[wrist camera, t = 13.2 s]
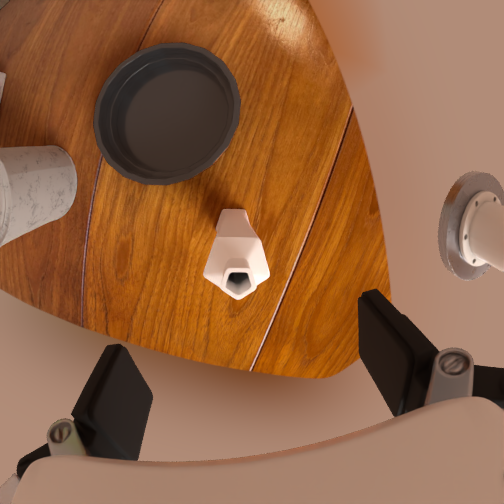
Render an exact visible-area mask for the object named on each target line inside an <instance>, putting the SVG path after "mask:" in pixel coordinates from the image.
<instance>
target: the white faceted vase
mask: <svg viewBox="0 0 504 504" xmlns="http://www.w3.org/2000/svg"><path fill="white" fill-rule="evenodd" d="M216 231H217V235H216V237H215V240H214V243H213V246H212V249H211V252H210V255H209V258H208V261H207V264H206V267H205V270H204V273H203V275H204V277H205V278H207V279H208V280H210V281H211V282H213V283H214V284H216V285H217V286H219V287H220V288H221V290H222V291H224V292H225V293H227V294H228V295H230V296H232V297H233V298H235V299H237V300H239V299H242V298H243V297H245V296H246V295H248V294H250V293H251V292H253V291H254V290H255V289H256V287H257V286H256V285H258V284H259V283H261V282H263V281H264V280H266V279H267V278H269V276H270V272H269V269H268V265H267V262H266V258H265V254H264V251H263V247H262V244H261V241H260V239H259V237H258V236H257V234H256V233H255V231H254V230H253V229H252V227H251V226H250V223H249V220H248V216H247V213H246V210H244V209H223V210H222V212H221V214H220V217H219V220H218V223H217V226H216Z"/></svg>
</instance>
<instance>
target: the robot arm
mask: <svg viewBox="0 0 504 504" xmlns="http://www.w3.org/2000/svg"><path fill="white" fill-rule="evenodd" d="M459 246H460V251H461V254H462V257H463V258H464V260H465V261H466V262H467V263H469V264H470V265H472V266H481V265H483V264H485V263H488V264H490V265H492V266H493V267H495V268H497V269H499V270H500V271H502V272H504V206H503V205H501V203H500V200H499V199H498V197H497V196H496V195H495V194H494V193H492V192H489V191H480V192H479V193H477V194H476V195H474V196H473V197H472V199H471V200H470V201H469V203H468V205H467V207H466V209H465V211H464V214H463V216H462V220H461V224H460V230H459ZM358 323H359V355H360V358H361V359H362V361H363V363H364V364H365V366H366V368H367V370H368V372H369V373H370V375H371V376H372V379H373V380H374V382H375V384H376V385H377V387H378V389H379V391H380V392H381V394H382V396H383V398H384V400H385V401H386V403H387V405H388V407H389V408H390V411H391V412H392V414H393V416H394V417H395V418H392V419H390V420H387V421H385V422H382V423H379V424H376V425H374V426H371V427H368V428H365V429H362V430H359V431H356V432H353V433H350V434H346V435H343V436H340V437H336V438H333V439H329V440H326V441H323V442H318V443H315V444H311V445H307V446H302V447H298V448H293V449H289V450H283V451H278V452H273V453H267V454H261V455H254V456H248V457H240V458H231V459H220V460H208V461H186V462H152V461H137V460H138V458H139V453H140V449H141V444H142V440H143V436H144V432H145V428H146V423H147V420H148V416H149V411H150V408H151V404H152V400H153V395H152V392H151V390H150V388H149V387H148V385H147V383H146V382H145V380H144V378H143V377H142V375H141V373H140V372H139V370H138V368H137V366H136V365H135V363H134V361H133V359H132V357H131V356H130V354H129V352H128V350H127V349H126V348H125V347H123V346H122V345H121V344H113V345H107V347H106V348H105V350H104V352H103V353H102V355H101V357H100V359H99V361H98V363H97V364H96V366H95V368H94V370H93V372H92V374H91V375H90V377H89V379H88V381H87V383H86V385H85V387H84V389H83V391H82V393H81V395H80V397H79V399H78V401H77V403H76V405H75V407H74V409H73V411H72V413H71V415H72V416H73V417H74V418H75V419H74V421H71V420H70V419H66V418H65V419H60V420H57V421H56V422H54V423H53V424H52V425H51V426H50V428H49V430H48V432H47V441H48V443H47V444H45V445H43V446H41V447H40V448H38V449H36V450H35V451H33V452H31V453H29V454H28V455H26V456H24V457H23V458H21V459H20V460H19V462H18V465H17V475H16V474H15V473H14V474H13V475H12V476H11V477H10V478H9V479H8V480H7V481H6V482H5V483H4V484H3V485H2V486H1V487H0V504H504V368H496V367H487V366H479V365H474V362H473V358H472V356H471V355H470V354H469V353H468V352H467V351H465V350H463V349H460V348H447V349H444V350H442V351H440V352H439V351H438V350H437V348H436V347H435V346H434V345H433V344H432V343H431V342H430V341H429V340H428V339H427V338H426V337H425V336H424V334H423V333H422V332H421V331H420V330H419V329H418V328H417V327H416V326H415V325H414V324H413V323H412V322H411V321H410V320H409V319H408V317H406V316H405V315H403V314H401V313H400V312H399V311H398V310H397V309H396V308H395V307H394V306H393V305H392V304H391V303H390V302H389V301H388V300H387V299H386V298H385V297H384V296H383V295H382V294H381V293H380V292H379V291H378V290H377V289H373V290H369V291H366V292H363V293H362V295H361V297H359V298H358Z"/></svg>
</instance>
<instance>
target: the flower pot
mask: <svg viewBox="0 0 504 504" xmlns="http://www.w3.org/2000/svg"><path fill="white" fill-rule="evenodd" d="M9 1H10V0H0V9H1V8H2V7H3V6H5V5H6V4H7V3H8V2H9Z"/></svg>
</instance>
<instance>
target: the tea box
mask: <svg viewBox="0 0 504 504" xmlns="http://www.w3.org/2000/svg"><path fill="white" fill-rule="evenodd" d="M5 79H6V74H5V73H2V72H0V103H1V97H2V92H3V87H4V83H5Z"/></svg>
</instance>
